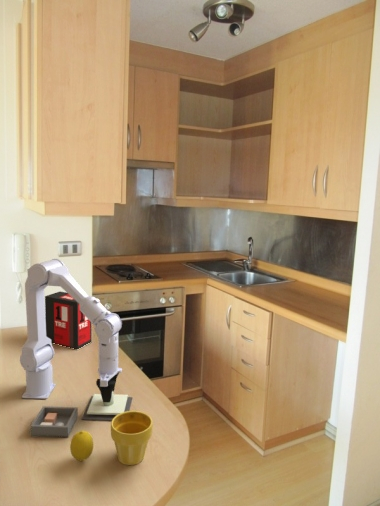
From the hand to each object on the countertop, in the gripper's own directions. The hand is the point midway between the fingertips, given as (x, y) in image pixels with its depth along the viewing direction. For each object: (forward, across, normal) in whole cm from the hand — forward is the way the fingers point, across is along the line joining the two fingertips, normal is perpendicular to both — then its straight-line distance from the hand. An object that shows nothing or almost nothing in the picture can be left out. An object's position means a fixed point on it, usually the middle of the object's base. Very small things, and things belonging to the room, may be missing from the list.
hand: (108, 397), depth 128 cm
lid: (+3, 0, 0) cm, 3 cm away
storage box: (+4, -10, +13) cm, 17 cm away
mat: (+4, 0, 0) cm, 4 cm away
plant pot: (+4, -22, -10) cm, 24 cm away
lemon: (+4, -24, +2) cm, 24 cm away
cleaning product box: (+4, +50, +26) cm, 56 cm away
